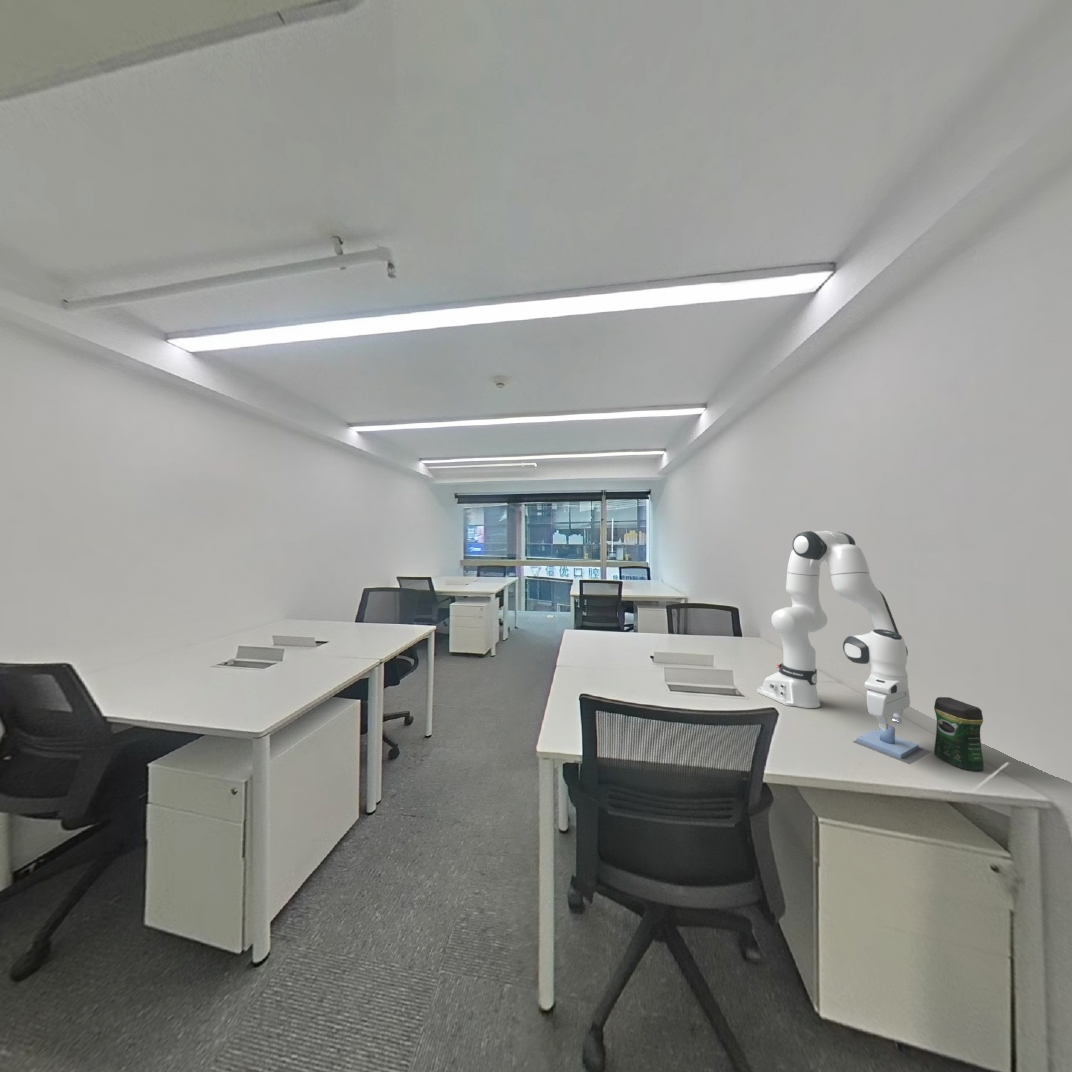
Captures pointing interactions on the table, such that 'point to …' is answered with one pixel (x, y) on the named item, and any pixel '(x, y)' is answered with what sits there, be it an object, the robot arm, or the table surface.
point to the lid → (888, 742)
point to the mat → (907, 759)
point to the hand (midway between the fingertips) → (890, 725)
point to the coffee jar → (958, 734)
